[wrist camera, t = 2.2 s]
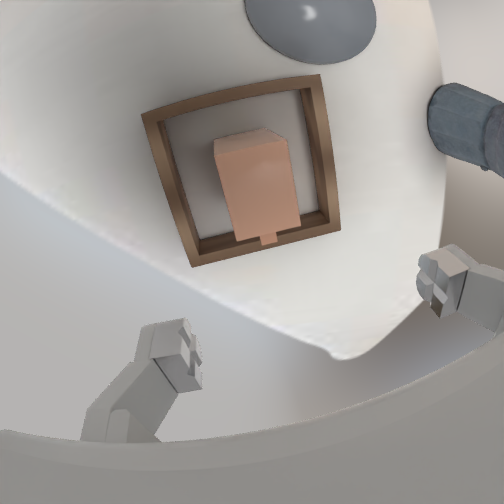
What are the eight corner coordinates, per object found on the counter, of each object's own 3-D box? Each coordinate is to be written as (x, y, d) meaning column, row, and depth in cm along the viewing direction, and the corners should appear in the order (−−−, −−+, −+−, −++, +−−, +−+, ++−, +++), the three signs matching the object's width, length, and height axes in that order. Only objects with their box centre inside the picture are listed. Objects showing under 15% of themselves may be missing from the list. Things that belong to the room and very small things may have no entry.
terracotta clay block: (213, 139, 24) (213, 156, 17) (264, 127, 24) (286, 139, 17) (233, 216, 28) (241, 260, 21) (280, 205, 28) (303, 244, 21)
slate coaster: (232, -39, 15) (232, -43, 15) (355, -40, 15) (358, -43, 15) (261, 72, 21) (262, 71, 21) (382, 62, 21) (387, 61, 21)
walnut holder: (149, 112, 22) (140, 114, 19) (308, 76, 22) (319, 74, 19) (193, 251, 29) (191, 267, 26) (329, 217, 29) (340, 230, 26)
